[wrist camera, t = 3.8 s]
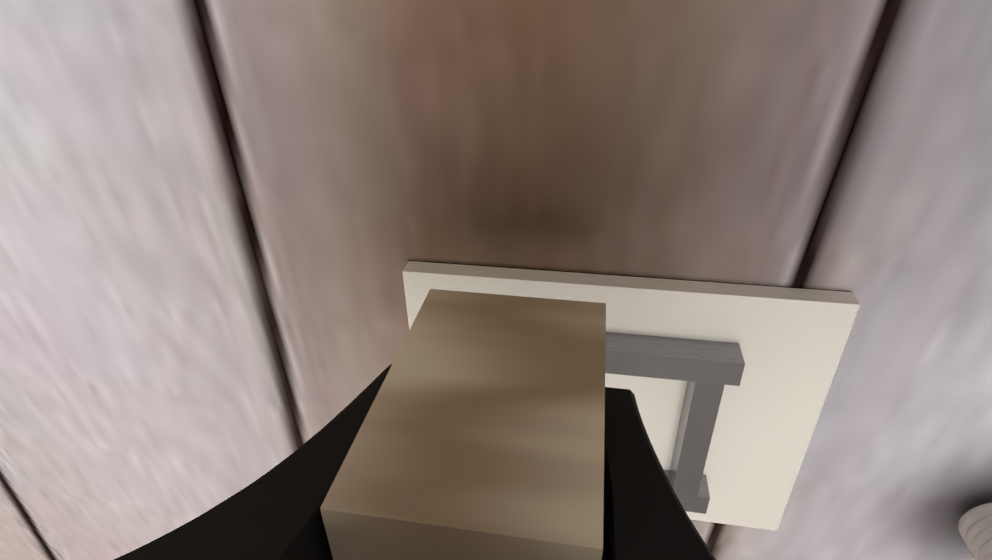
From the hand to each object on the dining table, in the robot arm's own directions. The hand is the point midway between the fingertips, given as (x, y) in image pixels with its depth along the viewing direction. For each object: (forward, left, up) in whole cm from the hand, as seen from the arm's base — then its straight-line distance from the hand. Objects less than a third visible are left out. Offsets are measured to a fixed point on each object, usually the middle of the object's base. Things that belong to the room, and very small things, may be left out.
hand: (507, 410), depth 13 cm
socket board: (-3, +8, -9) cm, 13 cm away
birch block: (0, 0, -2) cm, 2 cm away
